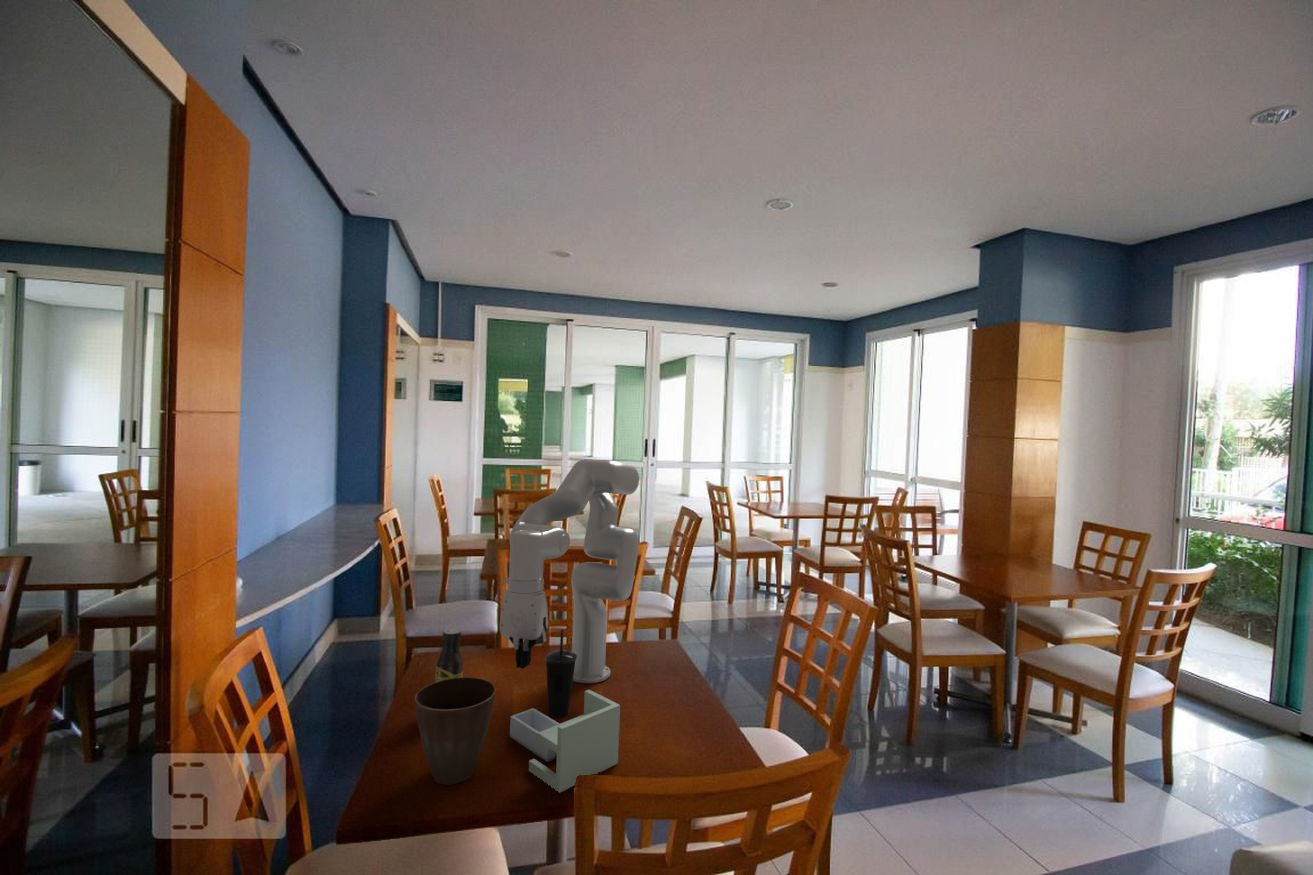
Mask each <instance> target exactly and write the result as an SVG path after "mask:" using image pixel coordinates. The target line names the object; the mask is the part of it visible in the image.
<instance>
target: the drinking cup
mask: <svg viewBox="0 0 1313 875" xmlns="http://www.w3.org/2000/svg"><path fill="white" fill-rule="evenodd" d="M559 636H560V638H559V639H560V641H559V643H560V644H559V649H558V650H555V651H554V650H553V651H552V652H548V653H547V654H545V657H544V660H545V665H546V682H547V686H546V687H547V688H546V689H547V706H548V707H547V708H548V710H547V711H548V715H549V716H550V717H553V718H563V717H566V716H567V715H568V714H569V712H570V705H571V704H570V703H571V697H572V690H573V682H574V681H573V675H574V668H575V661H576V659H577V655H576V654H575V653H572V652H571V651H570V650H565V649H563V648H564V629H561V630H560V635H559Z"/></svg>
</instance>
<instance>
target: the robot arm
mask: <svg viewBox="0 0 1313 875" xmlns="http://www.w3.org/2000/svg"><path fill="white" fill-rule="evenodd" d="M639 484H640V476H639V472H638V470H637V468H636V467H635V466H634V465H632V464H628V463H623V462H620V461H617V460H608V459H607V460H606V459H591V458H590V459H589V458H586V459H585V458H584V459H580V460H578V461H576V462H575V464H573V466H572V467H571V469H570V470H569V472H568V473H567V475H566V476H565V477H564V479H563V481H562V482H561V484H560V486H559V487H558V488H557V490H556V491H555V492H553V493H551V494H549V495H547V496H546V497H544V498H543V497H542V499H540V500H538V501H536V502H535V503H533V504H531V505H529V506H528V507H527V508H526V509H525V510H524V511H523V512H522V513H521V515H520V516H519V518H518V520H517V521H516V523H515V524H514V525H513V527H512V529H511V532H510V534H509V547H510V548H509V570H508V572H509V575H508V577H506V578H505V579H504V584H507V585H508V589H506V590H504V591H505V592H504V595H503V599H502V605H501V609H500V610H501V611H500V619H499V632H500V634H502V637H503V638H505V639H507V640H509V641H510V642H511V643H512V645H513V648H514V650H515V662H516V668H517V669H522V670H523V669H525V668H526V667H528V666H529V665H530V663H531V662H532V648H533V647H534V646H535V645H540V644H541V645H542V644H544V643H546V642H547V636H546V634H547V632H548V626H549V622H548V621H549V619H548V618H549V616H548V613H549V612H548V602H547V596H546V591H545V590H543V588H544V586H543V584H544V583H543V582H544V563H545V562H544V561H545V560H550V559H558V558H560V557H562V556H564V554H565V553H566V552H568V550H569V548H570V544H571V540H570V534H569V533H568V532H567V530H566V529H565V528H563V527H560V526H557V525H548V524H549V523H553V522H556V521H561V520H565V519H568V518H572V517H576V516H578V515H579V514H581V513H582V512H583V511H584V509H585V508H586V506H587V505H588V503H589V512H588V519H587V524H586V530H585V534H584V541H583V551H584V553H585V555H587V556H588V557H590V558H592V559H593V558H594V559H601V560H607V561H616V564H607V563H602V562H601V563H599V562H593V561H592V562H591V561H590V562H589V561H587V562H581V563H578V564H577V565H576V566H575V567H574V568H573V570H572V573H571V577H570V578H571V579H570V580H571V581H570V582H571V589H572V597H573V598H572V599H573V615H572V616H573V620H572V639H571V640H572V643H571V651H570V652H572V653H575V654H576V655H577V659H576V661H575V668H574V675H573V682H575V683H579V684H595V683H596V684H597V683H599V682H600V683H602V682H604V681H606V680H607V679H608V678H610V675H611V669H610V667H608V666H607V665H606V651H607V650H606V649H607V648H606V647H607V629H608V627H607V625H608V624H607V623H608V611H607V607H606V605H605V603H604V600H608V601H616V602H623V601H625V600H628V598H629V597H630V595H631V593H632V590H633V587H634V586H633V585H634V580H635V574H636V573H635V572H636V569H637V568H636V567H637V561H638V555H639V536H638V534H637V532H636V531H635V530H634V529H632V528H629V527H623V526H618V519H619V508H618V507H619V506H618V505H617V503H616V501H615V499H614V498H613V496H612V494H613V495H625V496H628V495H632V494H634V493H635V492H636V490H638V487H639Z"/></svg>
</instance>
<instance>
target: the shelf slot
mask: <svg viewBox="0 0 1313 875" xmlns="http://www.w3.org/2000/svg"><path fill="white" fill-rule="evenodd" d="M583 700H584V701H583V714H581V715H579V716H576V717H574V718H571V719H569V720H566V721H563V722H561V723H559V724H558V725H556V726H553V727H551V728H548V729H546V730H543V731H541V732H538V739H537V740H538V741H539V742H541V743H542V744H544V745H545V746H547V747H548V748H550V749H551V750H553V751H554V752H556V753H557V758H556V766H555V769H556V770H555V772H554V771H552V769H550V768H549V767H547V766H546V765H544V764H542V763H541V762H540V761H538V760H537V759H535V758H532V759H529V760H528V772H529V773H531V774H532V773H533V776H535V777H536V776H537V778H538V779H539V778H540V779H539V780H541V779H542V780H543V781H544V782H543V781H542V780H541V781H542V782H543V783H545V782H546V783H547V784H548V785H547V784H546V783H545V784H546V785H547V786H549V785H550V786H551V789H553V788H554V789H555V791H556V792H557V791H558V792H559V794H560V793H562V792H564V791H566V790H568V789H570V788H572V787H573V786H576V785H575V782H576V778H577V776H579V775H591V774H596V775H597V774H599V773H598V772H600V773H602V772H604V771H606V770H608V769H610V768H612V767H613V766H615V765H618V764H619V746H620V745H619V744H620V742H619V741H620V723H621V722H620V721H621V718H620V716H621V705H620V704H619V703H618V702H615V701H613V700H611V699H609V698H607V697H605V696H603V695H601V694H598V693H597V692H595V691H592V690H591V689H587V690H585V691H584V699H583ZM550 786H549V787H550ZM554 789H553V790H554ZM558 792H557V793H558Z"/></svg>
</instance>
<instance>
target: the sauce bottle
mask: <svg viewBox="0 0 1313 875" xmlns="http://www.w3.org/2000/svg"><path fill="white" fill-rule="evenodd" d="M461 636H462V630H461V629H459V628H455V627H454V628H446V629H444V630H443V632H442V640H443V641H442V649H441V652H440V654H439V657H438V658H437V662H436V664H435V675H434V676H435V677H434V683H435V682H438V681H441V680H446V679H451V678H462V677H463V676H464V675H463V674H464V668H463V667H464V657H463V654H462V652H461V651H460V648H461V647H460V639H461Z"/></svg>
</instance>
